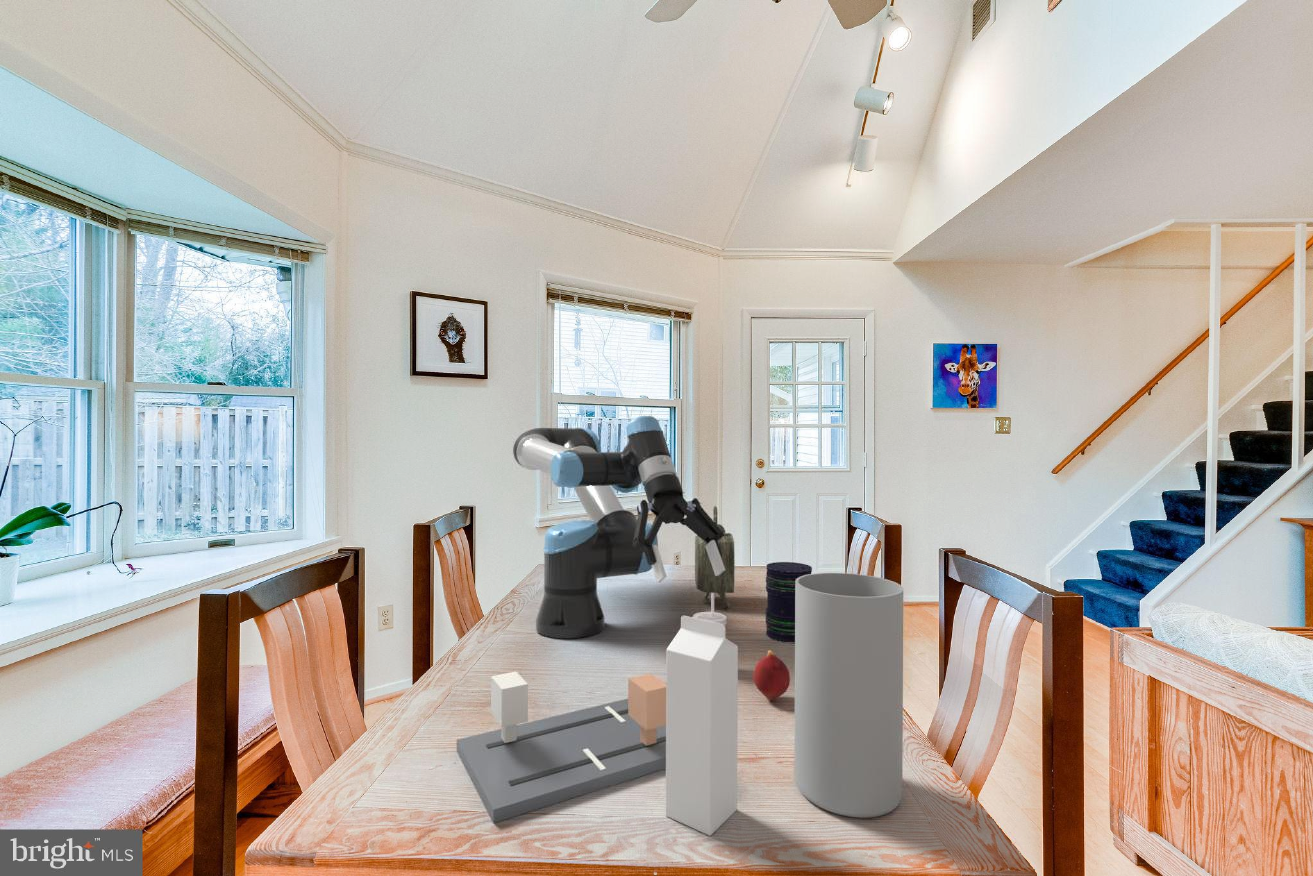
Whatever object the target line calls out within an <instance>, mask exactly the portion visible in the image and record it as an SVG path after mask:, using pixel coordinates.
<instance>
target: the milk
mask: <svg viewBox="0 0 1313 876" xmlns="http://www.w3.org/2000/svg"><path fill="white" fill-rule="evenodd" d="M665 663H666V667H665V668H666V674H665V677H666V679H665V683H666V769H665V816H666V817H668V818H670V819H672V820H675V821H676V822H679V823H681V824H684V825H686V826H687V827H689V828H692V829H694V830H696V831H698V832H700V833H703V835H707V836H709V837H710V836H712V835H713V834H714V833H715V832H716V831H717V830H718V829H719V828H720V827H721V826H722V825H723V824H724V823H725V822H726V821H728V819H729V818H730V817H731V816H733V814H735V812H736V811H738V733H739V732H738V731H739V730H738V722H739V721H738V719H739V718H738V715H739V714H738V713H739V712H738V711H739V709H738V707H739V706H738V705H739V703H738V702H739V701H738V700H739V699H738V696H739V694H738V693H739V691H738V690H739V685H738V684H739V647H738V645H737V644H735V643H733V642H732V641H730V640H729V639H727V638H726V625H725V626H724V624H720V623H716V622H711V621H706V620H702V619H697V618H693V616H688V615H682V616H681V617H680V629H679V630H678V632H677V633H676V635H675V636H674V638H673V639H672V640H671V642H670V644H669V645H668V646H667V648H666V662H665Z"/></svg>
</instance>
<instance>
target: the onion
mask: <svg viewBox="0 0 1313 876" xmlns="http://www.w3.org/2000/svg"><path fill="white" fill-rule="evenodd" d="M788 668H789V667H787V665H786V664H785V663H784V662H783V660H781V659H780V658H779V657H778V656H777V655H776V654H775V653H774V652H773V651H772V650H767V655H766V656H764V657H763V658H761V660H759V661H758V662H757V664H756V666H755V668H754V671H753V683H754V684H755V687H756V689H757V690H758V691H759V692H760V693H761V694H762V695H763V696H765V698H766V699H767V700H768V701H774V700H776V699H778V698H779V697H781V696H782V695H784V694H785V693H787V690H788V688H789V686H790V682H791V676H790V671H789V669H788Z"/></svg>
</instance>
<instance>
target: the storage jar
mask: <svg viewBox="0 0 1313 876" xmlns="http://www.w3.org/2000/svg"><path fill="white" fill-rule="evenodd" d="M765 570H766V577H765V583H766V584H765V590H766V591H765V592H767V598H766V599H767V601H766V603H767V606H766V607H767V608H765V628H766V630H765V633H766V634H765V635H766V637H767V636H768V637H769V638H768V637H767V638H768V639H770V638H771V639H770V640H772V639H773V640H772V641H775V640H777V641H776V642H779V641H781V642H780V643H785V642H794V643H793V644H795V581H796V579H797V578H799V577H801V576H804V575H808V574H812V572H813V567H812V566H811V565H809V564H806V563H801V562H791V561H778V562H777V561H776V562H771V563H767V564H766V569H765Z"/></svg>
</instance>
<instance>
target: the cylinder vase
mask: <svg viewBox="0 0 1313 876" xmlns="http://www.w3.org/2000/svg"><path fill="white" fill-rule="evenodd" d="M903 686H904V587H903V586H902V585H901V584H900V583H897V582H895V581H892V580H890V579H886V578H882V577H878V576H873V575H866V574H862V573H861V574H858V573H847V572H819V573H811V574H808V575H804V576H801V577H799V578H797V579H796V581H795V643H794V768H793V769H794V771H793V773H794V774H793V775H794V782H795V784H796V786H797V788H798V790H799V791H800V793H801V794H802V795H803V797H805V798H806V799H807V800H808V801H810V802H811V803H813V805H816V806H817V807H819V808H821V809H823V810H826V811H828V812H830V813H832V814H836V815H840V816H844V817H850V818H862V819H864V818H865V819H866V818H876V817H880V816H883V815H886V814H889V813H891V812H893V810H895V809H896V808H897V807H898V806H899V804H900V803H901V801H902V799H903V746H904V744H903V737H904V736H903V733H904V731H903V725H904V724H903V723H904V722H903V720H904V719H903V717H904V715H903V713H904V711H903V710H904V705H903V704H904V699H903V698H904V687H903Z"/></svg>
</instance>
